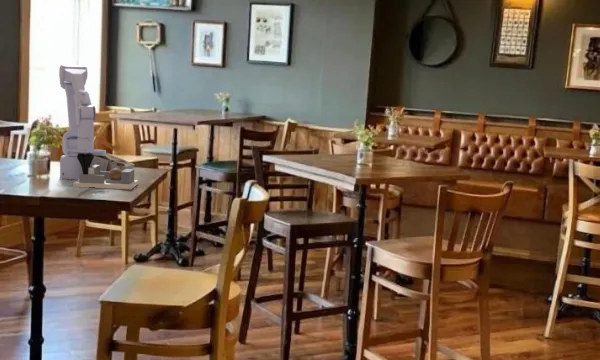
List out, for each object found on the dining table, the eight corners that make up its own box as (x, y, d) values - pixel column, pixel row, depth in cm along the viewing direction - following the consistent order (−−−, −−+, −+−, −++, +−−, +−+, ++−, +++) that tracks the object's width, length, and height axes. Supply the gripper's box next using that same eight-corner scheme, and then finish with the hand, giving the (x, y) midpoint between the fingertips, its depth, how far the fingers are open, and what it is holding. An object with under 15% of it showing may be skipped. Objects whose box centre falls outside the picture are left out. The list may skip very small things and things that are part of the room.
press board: (73, 186, 277) (73, 170, 276) (83, 181, 289) (83, 166, 288) (130, 189, 277) (130, 173, 276) (138, 184, 289) (138, 168, 288)
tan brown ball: (107, 182, 280) (107, 168, 279) (110, 180, 285) (110, 167, 284) (120, 182, 280) (120, 169, 279) (124, 180, 285) (124, 167, 284)
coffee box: (127, 166, 292) (89, 150, 293) (121, 181, 293) (84, 165, 294) (135, 163, 301) (98, 148, 302) (129, 178, 302) (93, 163, 303)
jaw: (88, 178, 279) (88, 167, 278) (94, 175, 286) (94, 164, 286) (93, 178, 278) (93, 167, 278) (99, 175, 286) (99, 165, 286)
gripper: (62, 137, 276) (62, 174, 278) (102, 139, 276) (102, 176, 278) (68, 136, 283) (68, 172, 285) (107, 137, 283) (107, 173, 285)
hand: (85, 174), depth 282 cm, fingers closed
